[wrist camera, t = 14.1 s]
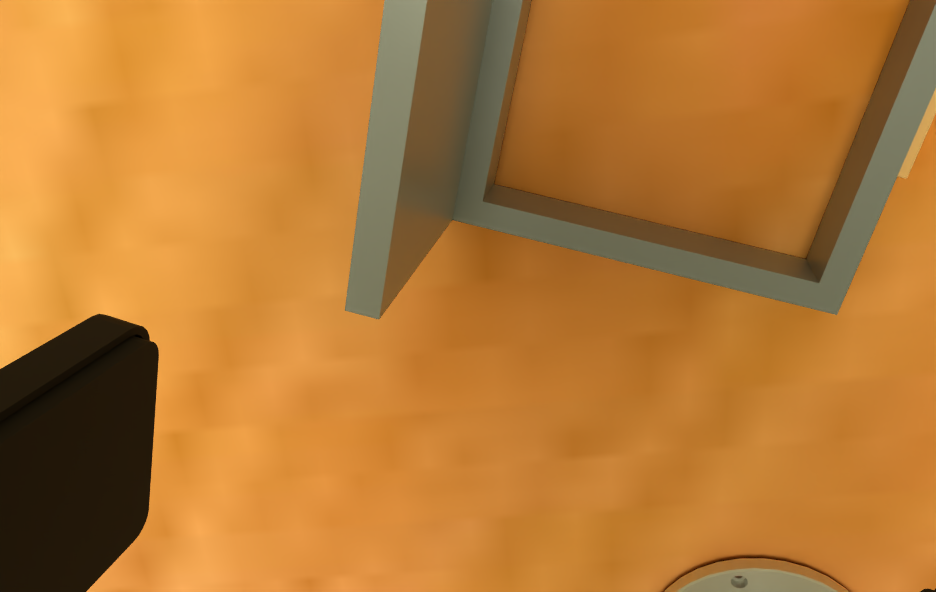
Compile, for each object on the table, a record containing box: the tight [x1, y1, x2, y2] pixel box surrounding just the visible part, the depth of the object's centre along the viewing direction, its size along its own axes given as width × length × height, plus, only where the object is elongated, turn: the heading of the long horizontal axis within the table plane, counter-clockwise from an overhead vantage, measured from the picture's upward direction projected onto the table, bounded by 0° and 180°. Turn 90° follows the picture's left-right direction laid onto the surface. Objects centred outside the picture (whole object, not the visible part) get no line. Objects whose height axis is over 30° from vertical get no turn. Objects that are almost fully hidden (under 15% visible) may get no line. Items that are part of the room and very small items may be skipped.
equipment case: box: [345, 0, 936, 319], centre depth 28 cm, size 19×16×14 cm
